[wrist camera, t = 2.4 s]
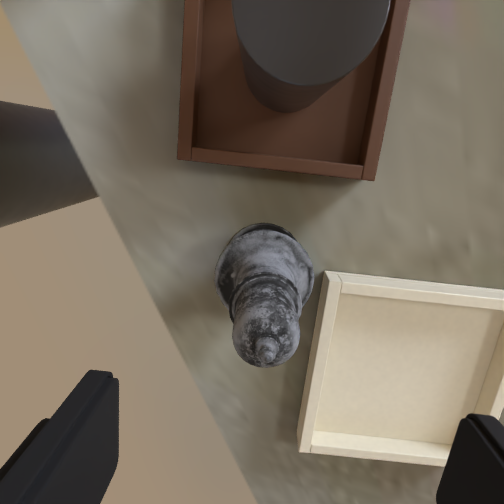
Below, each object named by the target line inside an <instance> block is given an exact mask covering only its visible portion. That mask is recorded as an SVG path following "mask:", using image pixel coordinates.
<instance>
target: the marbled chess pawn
mask: <svg viewBox="0 0 504 504" xmlns="http://www.w3.org/2000/svg"><path fill="white" fill-rule="evenodd" d="M214 281H215V285H216V290H217V294H218V295H219V297H220V299H221V301H222V303H223V304H224V305H225V306H226V308H227V309H228V310H229V314H230V318H231V320H232V322H233V324H234V325H233V333H232V338H233V343H234V347H235V349H236V351H237V353H238V355H239V356H240V357H241V358H242V359H243V360H244V361H246V362H247V363H249V364H251V365H254V366H257V367H265V368H268V367H274V366H277V365H280V364H282V363H284V362H285V361H287V360H288V359H290V358H291V356H292V355H293V354H294V353H295V351H296V349H297V347H298V345H299V339H300V327H299V322H298V320H299V317H300V315H301V310H302V307H303V306H304V305H305V303H306V302H307V301H308V299H309V297H310V294H311V292H312V290H313V283H314V271H313V265H312V263H311V260H310V258H309V256H308V254H307V252H306V251H305V250H304V249H303V247H302V246H301V245H300V244H299V243H298V242H297V240H296V239H295V238H294V237H293V235H292V234H291V233H290V232H288V231H287V230H285V229H284V228H282V227H280V226H277V225H274V224H269V223H259V224H253V225H250V226H248V227H246V228H243V229H242V230H241V231H239V232H238V233H237V234H236V235H235V236H234V237H233V238H232V240H231V241H230V243H229V245H228V246H227V247H226V248H225V250H224V251H223V252H222V254H221V255H220V257H219V260H218V262H217V265H216V268H215V280H214Z"/></svg>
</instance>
